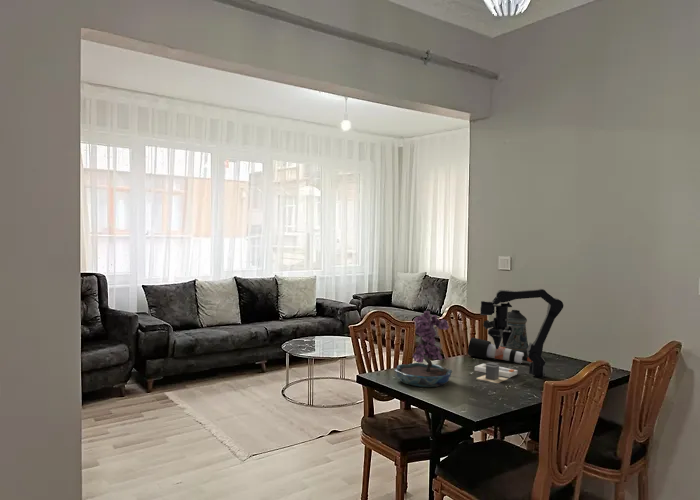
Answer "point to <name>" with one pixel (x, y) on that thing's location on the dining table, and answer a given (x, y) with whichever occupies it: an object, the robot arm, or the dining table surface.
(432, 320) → the bonsai tree
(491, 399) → the dining table surface
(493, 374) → the block
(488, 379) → the birch pad
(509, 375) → the switch housing
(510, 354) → the striped cylinder
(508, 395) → the dining table surface
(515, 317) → the beer stein
